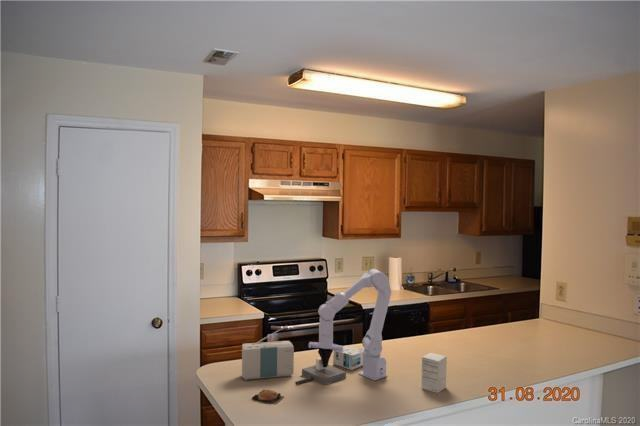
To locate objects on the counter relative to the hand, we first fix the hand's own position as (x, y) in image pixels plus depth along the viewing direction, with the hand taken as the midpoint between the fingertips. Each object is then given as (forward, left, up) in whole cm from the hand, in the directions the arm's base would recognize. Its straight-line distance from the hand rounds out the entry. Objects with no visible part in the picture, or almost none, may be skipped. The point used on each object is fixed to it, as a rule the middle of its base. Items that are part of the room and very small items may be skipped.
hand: (325, 366), depth 201 cm
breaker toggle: (+3, 0, -2) cm, 4 cm away
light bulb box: (+10, -18, -1) cm, 20 cm away
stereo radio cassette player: (+16, +18, -5) cm, 25 cm away
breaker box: (+1, 0, -4) cm, 5 cm away
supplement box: (-35, -26, -5) cm, 44 cm away
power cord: (+1, +10, -4) cm, 11 cm away
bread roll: (-3, +30, -5) cm, 31 cm away
